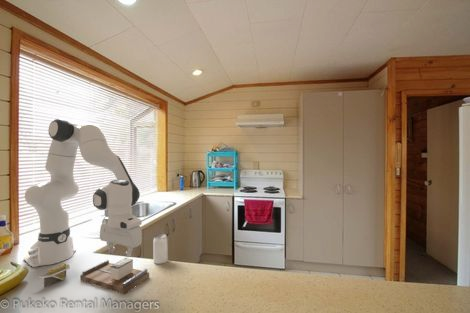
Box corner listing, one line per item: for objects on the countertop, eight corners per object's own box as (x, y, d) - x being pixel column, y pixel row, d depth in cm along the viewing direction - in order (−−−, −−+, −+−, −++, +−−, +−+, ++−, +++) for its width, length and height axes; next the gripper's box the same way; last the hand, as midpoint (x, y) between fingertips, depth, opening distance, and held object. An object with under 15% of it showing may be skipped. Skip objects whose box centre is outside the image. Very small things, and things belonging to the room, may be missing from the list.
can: (163, 265, 101) (162, 239, 101) (150, 263, 103) (150, 238, 103) (170, 258, 108) (169, 234, 108) (158, 257, 109) (157, 233, 109)
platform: (88, 274, 95) (88, 259, 95) (38, 300, 78) (38, 281, 78) (71, 269, 99) (71, 255, 99) (20, 292, 83) (20, 275, 83)
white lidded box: (110, 278, 86) (110, 265, 86) (125, 269, 93) (125, 257, 93) (118, 280, 85) (117, 267, 85) (133, 271, 91) (132, 259, 91)
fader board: (80, 280, 90) (80, 271, 90) (107, 266, 101) (107, 258, 101) (124, 294, 80) (124, 284, 80) (149, 277, 91) (149, 268, 91)
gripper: (95, 219, 90) (95, 252, 90) (131, 225, 82) (131, 262, 82) (109, 215, 96) (109, 246, 96) (144, 221, 87) (144, 255, 87)
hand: (119, 254), depth 89 cm, fingers open, 8 cm apart
